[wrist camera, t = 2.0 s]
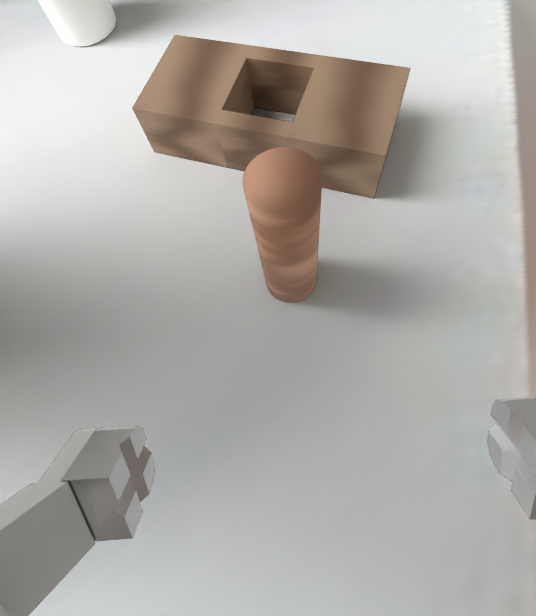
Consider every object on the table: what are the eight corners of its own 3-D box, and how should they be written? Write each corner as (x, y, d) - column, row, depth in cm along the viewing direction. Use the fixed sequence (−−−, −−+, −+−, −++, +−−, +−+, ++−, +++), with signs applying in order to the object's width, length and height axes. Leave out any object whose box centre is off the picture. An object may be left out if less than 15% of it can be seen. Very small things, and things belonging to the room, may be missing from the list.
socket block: (154, 152, 36) (132, 108, 32) (190, 84, 39) (174, 34, 34) (373, 198, 32) (385, 155, 27) (396, 119, 35) (410, 68, 30)
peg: (259, 294, 30) (231, 202, 19) (275, 251, 31) (257, 140, 20) (308, 308, 29) (309, 220, 18) (322, 263, 30) (331, 155, 19)
